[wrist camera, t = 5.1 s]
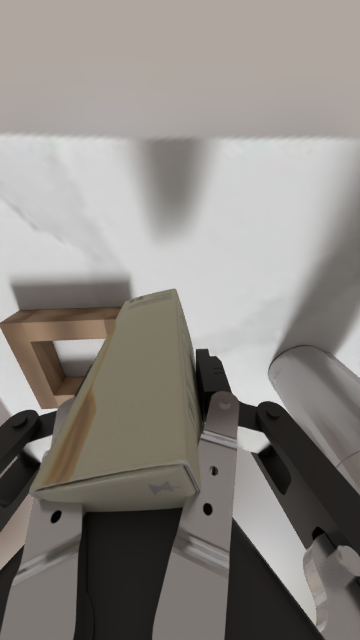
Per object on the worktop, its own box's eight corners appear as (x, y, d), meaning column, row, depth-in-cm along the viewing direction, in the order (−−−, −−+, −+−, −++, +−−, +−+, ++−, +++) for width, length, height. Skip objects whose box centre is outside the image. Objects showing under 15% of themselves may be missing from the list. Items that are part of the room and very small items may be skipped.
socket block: (130, 306, 26) (125, 318, 23) (142, 385, 32) (139, 403, 29) (19, 310, 25) (-2, 323, 22) (54, 390, 32) (41, 409, 29)
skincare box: (123, 299, 16) (8, 487, 5) (176, 286, 15) (186, 455, 4) (149, 362, 18) (115, 568, 8) (194, 352, 18) (227, 553, 7)
